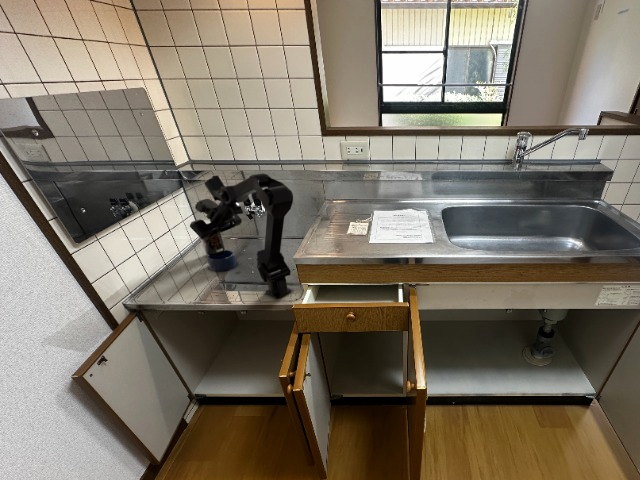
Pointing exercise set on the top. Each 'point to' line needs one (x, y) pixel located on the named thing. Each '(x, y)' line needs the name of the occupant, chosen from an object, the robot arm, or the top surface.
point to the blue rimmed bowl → (222, 261)
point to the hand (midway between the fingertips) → (208, 235)
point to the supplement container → (214, 243)
